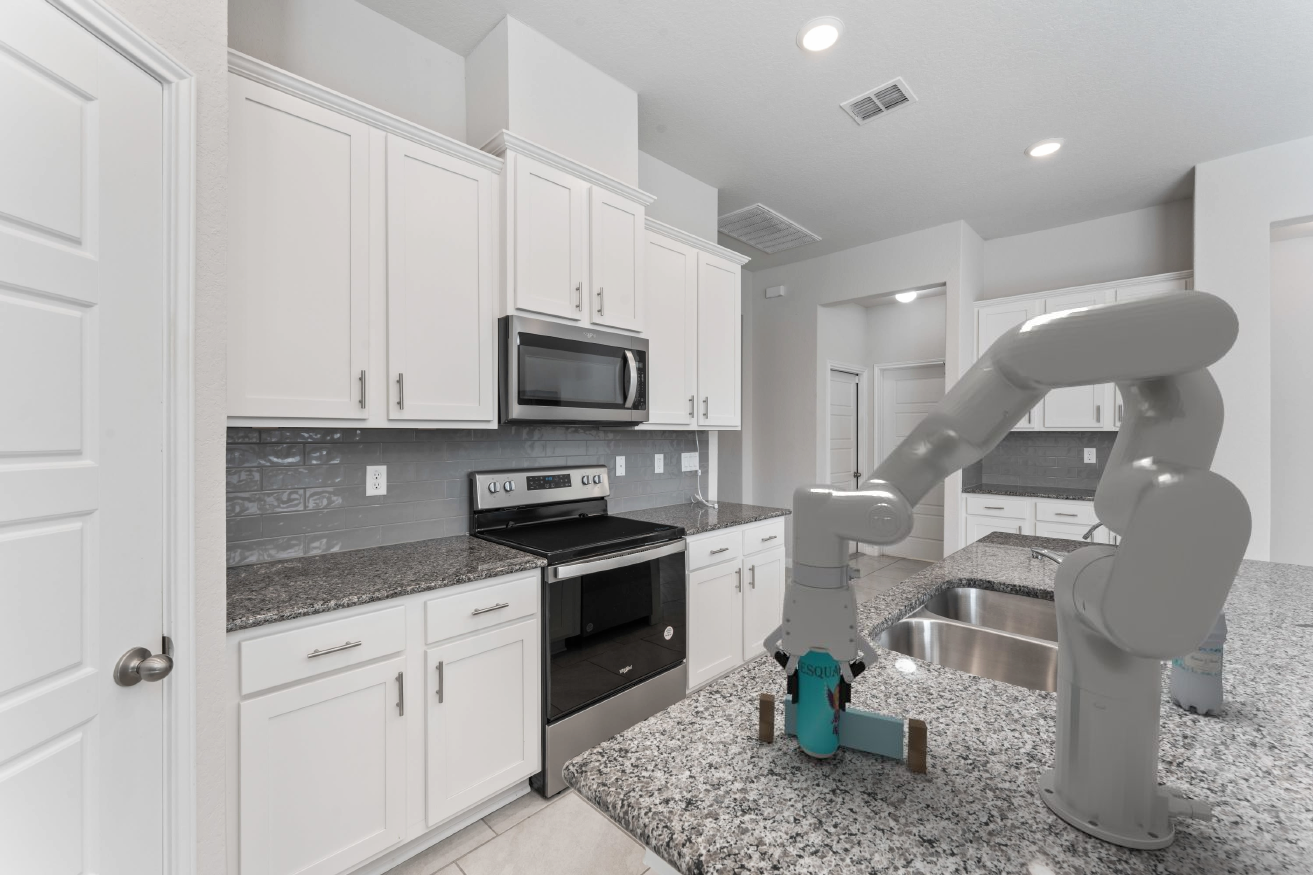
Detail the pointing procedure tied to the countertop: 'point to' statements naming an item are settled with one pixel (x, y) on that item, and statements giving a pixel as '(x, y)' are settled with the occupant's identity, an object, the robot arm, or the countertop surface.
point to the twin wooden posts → (915, 733)
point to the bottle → (1201, 673)
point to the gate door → (860, 730)
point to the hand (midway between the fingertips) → (818, 701)
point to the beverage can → (818, 703)
